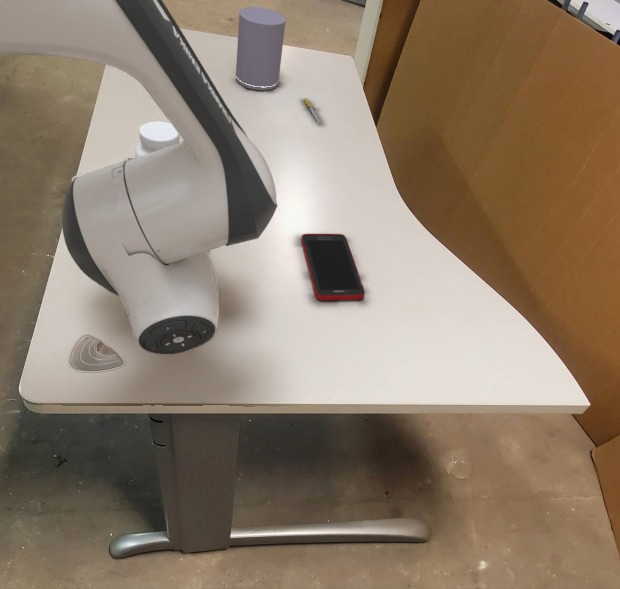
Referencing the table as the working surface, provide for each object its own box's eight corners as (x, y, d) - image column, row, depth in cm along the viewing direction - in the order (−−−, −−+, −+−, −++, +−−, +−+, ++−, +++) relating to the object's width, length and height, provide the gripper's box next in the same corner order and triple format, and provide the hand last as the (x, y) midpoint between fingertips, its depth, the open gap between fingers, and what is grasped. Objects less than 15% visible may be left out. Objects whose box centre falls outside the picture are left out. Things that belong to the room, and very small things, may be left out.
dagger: (324, 123, 117) (316, 121, 116) (322, 126, 118) (315, 125, 117) (310, 98, 124) (302, 96, 123) (308, 101, 124) (301, 99, 123)
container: (277, 75, 131) (285, 11, 121) (278, 94, 124) (286, 27, 114) (236, 69, 130) (240, 4, 119) (234, 88, 123) (238, 20, 112)
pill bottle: (129, 205, 70) (120, 129, 62) (160, 186, 74) (156, 112, 66) (165, 225, 68) (161, 149, 61) (195, 203, 72) (195, 130, 65)
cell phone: (343, 237, 90) (344, 233, 89) (365, 300, 80) (366, 295, 79) (299, 237, 88) (300, 233, 87) (316, 301, 78) (317, 296, 77)
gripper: (261, 205, 59) (241, 141, 68) (64, 210, 53) (72, 139, 62) (256, 247, 64) (239, 182, 73) (74, 256, 58) (80, 184, 67)
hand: (160, 162), depth 68 cm, fingers closed on pill bottle, 6 cm apart
